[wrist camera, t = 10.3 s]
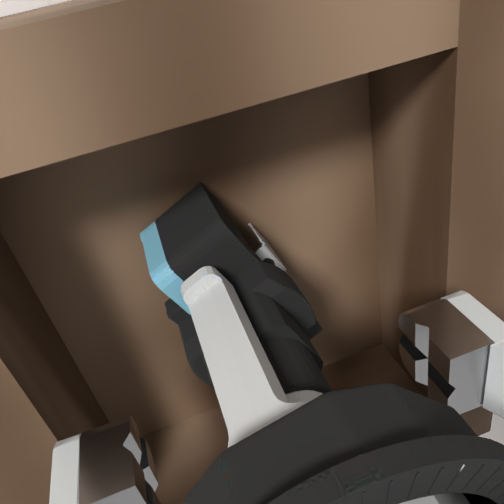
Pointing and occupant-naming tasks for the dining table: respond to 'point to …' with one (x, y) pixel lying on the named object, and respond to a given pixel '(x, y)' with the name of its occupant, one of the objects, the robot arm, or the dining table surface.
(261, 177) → the wooden tray
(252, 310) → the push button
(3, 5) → the dining table surface
